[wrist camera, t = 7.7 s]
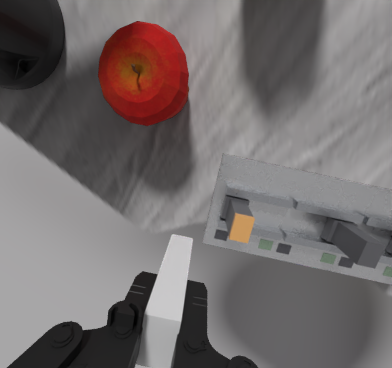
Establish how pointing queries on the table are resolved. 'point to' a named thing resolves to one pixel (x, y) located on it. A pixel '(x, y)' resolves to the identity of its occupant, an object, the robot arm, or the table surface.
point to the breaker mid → (353, 242)
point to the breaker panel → (300, 215)
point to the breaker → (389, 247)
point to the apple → (144, 73)
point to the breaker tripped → (237, 218)
